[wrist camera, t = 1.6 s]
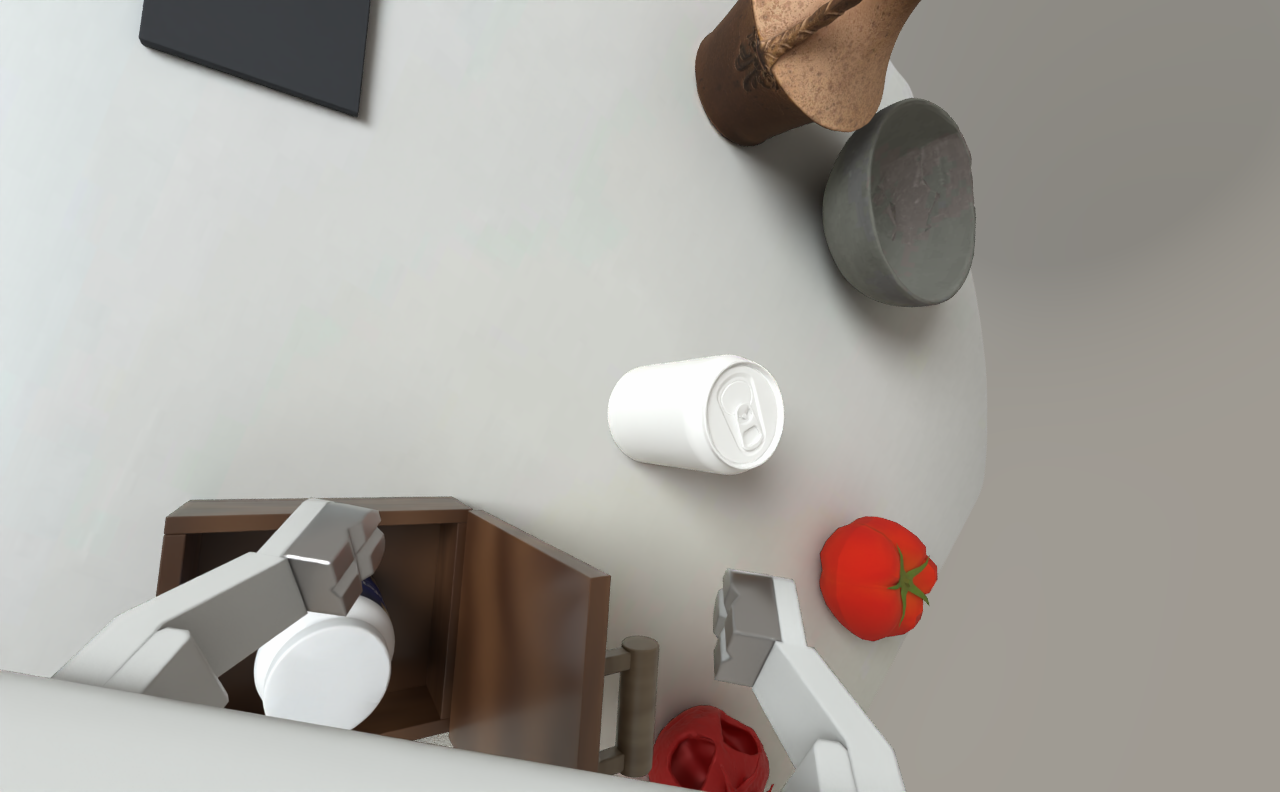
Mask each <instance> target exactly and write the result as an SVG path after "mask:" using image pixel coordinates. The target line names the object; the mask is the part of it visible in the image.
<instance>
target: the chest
mask: <svg viewBox="0 0 1280 792" xmlns="http://www.w3.org/2000/svg"><path fill="white" fill-rule="evenodd" d="M308 499H309V498H302V499H224V500H190V501H188V502H186V503H185V504H184V505H182V506H181V507H180V508H178V509H177V510H175V511H174V512H173V513H171V514H170V515H169V516H167V517H166V521H165V528H164V534H165V535H164V537H163V545H162V553H161V561H160V568H159V576H158V584H157V592H156V597H157V596H159V595H161V594H163V593H165V592H167V591H169V590H171V589H174V588H176V587H178V586H180V585H182V584H184V583H186V582H188V581H190V580H192V579H194V578H196V577H198V576H201V575H203V574H205V573H207V572H209V571H211V570H213V569H215V568H217V567H219V566H221V565H223V564H226V563H228V562H230V561H232V560H234V559H236V558H238V557H240V556H242V555H244V554H246V553H248V552H255V553H257V552H258V551H259V549H260V548H261V547H262V546H263V545H264V544H265V543H266V542H267V541H268V540H269V539H270V537H271V536H272V535H273V534H274V533H275V532H276V531H277V530H278V529H279V528H280V527H281V525H282V524H283V523H284V522H285V521H286V520H287V519H288V518H289V517H290V516H291V515H292V513H293V512H294V511H295V510H296V509H297V508H298V507H299V506H300V505H301V504H302V503H303V502H304V501H306V500H308ZM317 499H322V500H328V501H333V502H338V503H344V504H349V505H354V506H359V507H364V508H369V509H374V510H378V511H379V515H380V518H381V521H380V523H379V524H378V526H377V528H378V529H379V530H380V531H381V532H382V533H383V534H384V537H385V551H384V554H383V556H382V559H381V562H380V564H379V566H378V567H377V569H376V571H375V572H374V574H373V575H371V576H372V578H373V579H374V580H375V582H376V584H377V586H378V588H379V590H380V593H381V596H382V598H383V601H384V604H385V606H386V609H387V611H388V614H389V616H390V619H391V622H392V625H393V629H394V636H395V647H394V653H393V657H392V661H391V676H390V680H389V684H388V687H387V690H386V692H385V694H384V696H383V698H382V699H381V701H380V703H379V704H378V706H377V707H376V708H375V709H374V711H373V712H372V713H371V714H370V715H369V716H368V717H367V718H366V719H365V720H364V721H363V722H361V723H360V724H359V725H357V726H356V727H355V728H353V729H351V730H353V731H359V732H365V733H371V734H376V735H382V736H388V737H394V738H400V739H405V740H411V741H413V740H417V739H421V738H425V737H429V736H433V735H437V734H441V733H445V732H449V725H450V714H451V702H452V691H453V679H454V668H455V656H456V645H457V633H458V621H459V610H460V598H461V587H462V575H463V564H464V552H465V541H466V529H467V517H468V511H470V510H473V509H472V508H470V507H468V506H467V505H465V504H463V503H462V502H460V501H458V500H457V499H455V498H453V497H380V498H317ZM256 653H257V650H256V651H254V652H253V653H252V654H250V655H249V656H247V657H246V658H245V659H243V660H242V661H240V662H239V663H238V664H236V665H235V666H233V667H232V668H231V669H229V670H228V671H226V672H225V673H223V674H222V675H221V676H219V677H218V679H219V681H220V682H221V684H222V686H223V687H224V689H225V690H226V692H227V694H228V700H229V701H228V703H227V704H226V706H225V707H224V708H226V709H232V710H237V711H243V712H249V713H255V714H261V715H265V712H264V707H263V701H262V699H261V697H260V696H259V694H258V692H257V689H256V685H255V681H254V663H255V658H256Z"/></svg>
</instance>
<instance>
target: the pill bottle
mask: <svg viewBox="0 0 1280 792" xmlns="http://www.w3.org/2000/svg"><path fill="white" fill-rule="evenodd" d="M361 583H362V590H363V591H362V593H361V594H360V596H359V597H358V599H357V600H356V602H355V603H354V605H353V607H352V608H351V610H350V611H349V613H348V614H347V616H346V617H344V616H337V615H330V614H323V613H316V612H309V611H307V612H308V614H307V615H305V616H304V617H302V618H301V619H299V620H298V621H297V622H295V623H294V624H292V625H291V626H290V627H288V628H287V629H285V630H284V631H283V632H281V633H280V634H278V635H277V636H276V637H274V638H273V639H271V640H270V641H269V642H267V643H266V644H264V645H263V646H261V647H260V648H259V649H257V653H256V658H255V663H254V681H255V685H256V689H257V692H258V694H259V696H260V697H261V699H262V701H263V707H264V712H265V715H266V716H272V717H278V718H284V719H290V720H295V721H301V722H307V723H313V724H319V725H324V726H330V727H336V728H342V729H347V730H351V729H353V728H355V727H356V726H357V725H359V724H360V723H361V722H363V721H364V720H365V719H366V718H367V717H368V716H369V715H370V714H371V713H372V712H373V711H374V709H375V708H376V707H377V706H378V704H379V703H380V701H381V699H382V698H383V696H384V694H385V692H386V690H387V687H388V684H389V680H390V676H391V661H392V657H393V653H394V647H395V636H394V629H393V625H392V622H391V619H390V616H389V614H388V611H387V609H386V606H385V604H384V601H383V598H382V596H381V593H380V590H379V588H378V586H377V584H376V582H375V580H374V579H373V578H372V576H369V577H368V578H366V579H364V580H363V581H361Z"/></svg>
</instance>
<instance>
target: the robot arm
mask: <svg viewBox="0 0 1280 792" xmlns="http://www.w3.org/2000/svg"><path fill="white" fill-rule="evenodd" d="M380 521H381V518H380V515H379V511H378V510H374V509H369V508H364V507H359V506H354V505H349V504H344V503H338V502H333V501H328V500H322V499H317V498H309V499H308V500H306V501H304V502H303V503H302V504H301V505H300V506H299V507H298V508H297V509H296V510H295V511H294V512H293V513H292V515H291V516H290V517H289V518H288V519H287V520H286V521H285V522H284V523H283V524H282V525H281V527H280V528H279V529H278V530H277V531H276V532H275V533H274V534H273V535H272V536H271V537H270V539H269V540H268V541H267V542H266V543H265V544H264V545H263V546H262V547H261V548H260V549H259V551H258V552H257V553H255V552H248V553H246V554H244V555H242V556H240V557H238V558H236V559H234V560H232V561H230V562H228V563H226V564H223V565H221V566H219V567H217V568H215V569H213V570H211V571H209V572H207V573H205V574H203V575H201V576H198V577H196V578H194V579H192V580H190V581H188V582H186V583H184V584H182V585H180V586H178V587H176V588H174V589H171V590H169V591H167V592H165V593H163V594H161V595H159V596H157V597H155V598H153V599H151V600H149V601H147V602H144V603H142V604H140V605H138V606H136V607H134V608H132V609H130V610H128V611H126V612H124V613H122V614H119V615H117V616H116V617H115V618H114V619H113V620H112V621H111V622H110V623H109V624H108V625H107V626H105V627H104V628H103V629H102V630H101V631H100V632H99V633H98V634H97V635H96V636H95V637H94V638H93V639H92V640H91V641H90V642H88V643H87V644H86V645H85V646H84V647H83V648H82V649H81V650H80V651H79V652H78V653H77V654H76V655H75V656H74V657H72V658H71V659H70V660H69V661H68V662H67V663H66V664H65V665H64V666H63V667H62V668H61V669H60V670H59V671H58V672H56V673H55V674H54V675H53V676H52V677H51V678H46V677H40V676H35V675H29V674H23V673H17V672H11V671H6V670H0V792H705V791H700V790H694V789H688V788H682V787H677V786H671V785H665V784H659V783H654V782H648V781H642V780H636V779H630V778H625V777H619V776H613V775H607V774H602V773H596V772H590V771H584V770H578V769H573V768H567V767H561V766H555V765H550V764H544V763H538V762H532V761H527V760H521V759H515V758H509V757H503V756H498V755H492V754H486V753H480V752H475V751H469V750H463V749H457V748H452V747H446V746H440V745H434V744H428V743H423V742H417V741H411V740H405V739H400V738H394V737H388V736H382V735H376V734H371V733H365V732H359V731H353V730H347V729H342V728H336V727H330V726H324V725H319V724H313V723H307V722H301V721H295V720H290V719H284V718H278V717H272V716H266V715H261V714H255V713H249V712H243V711H237V710H232V709H226V708H224V707H225V706H226V704H227V703H228V701H229V700H228V694H227V692H226V690H225V689H224V687H223V686H222V684H221V682H220V681H219V679H218V677H219V676H221V675H222V674H223V673H225V672H226V671H228V670H229V669H231V668H232V667H233V666H235V665H236V664H238V663H239V662H240V661H242V660H243V659H245V658H246V657H247V656H249V655H250V654H252V653H253V652H254V651H256V650H257V649H259V648H260V647H261V646H263V645H264V644H266V643H267V642H269V641H270V640H271V639H273V638H274V637H276V636H277V635H278V634H280V633H281V632H283V631H284V630H285V629H287V628H288V627H290V626H291V625H292V624H294V623H295V622H297V621H298V620H299V619H301V618H302V617H304V616H305V615H307V614H308V612H307V611H309V612H316V613H323V614H330V615H337V616H344V617H346V616H347V614H348V613H349V611H350V610H351V608H352V607H353V605H354V603H355V602H356V600H357V599H358V597H359V596H360V594H361V593H362V591H363V590H362V583H361V581H363V580H364V579H366V578H368V577H369V576H371V575H373V574H374V572H375V571H376V569H377V567H378V566H379V564H380V562H381V559H382V556H383V554H384V551H385V537H384V534H383V533H382V532H381V531H380V530H379V529H378V528H377V526H378V524H379V523H380ZM713 632H714V634H715V635H716V637H717V638H718V641H717V643H716V646H715V649H714V672H715V680H718V681H723V682H728V683H733V684H738V685H743V686H748V687H753V688H752V690H753V692H754V694H755V696H756V698H757V700H758V701H759V703H760V705H761V707H762V709H763V711H764V712H765V714H766V716H767V718H768V720H769V722H770V723H771V725H772V727H773V729H774V731H775V733H776V734H777V736H778V738H779V740H780V742H781V743H782V745H783V747H784V749H785V751H786V753H787V754H788V756H789V758H790V760H791V762H792V764H793V765H794V767H795V769H796V770H795V771H794V773H793V774H792V776H791V777H790V778H789V780H788V781H787V783H786V784H785V785H784V787H783V788H782V790H781V791H780V792H906V789H905V786H904V782H903V779H902V775H901V772H900V768H899V765H898V761H897V758H896V754H895V751H894V749H893V748H892V747H891V745H890V744H889V743H888V741H887V740H886V739H885V738H884V736H883V735H882V734H881V732H880V731H879V730H878V729H877V727H876V726H875V725H874V724H873V722H872V721H871V720H870V718H869V717H868V716H867V715H866V713H865V712H864V711H863V710H862V708H861V707H860V706H859V704H858V703H857V702H856V701H855V699H854V698H853V697H852V696H851V694H850V693H849V692H848V690H847V689H846V688H845V687H844V685H843V684H842V683H841V682H840V680H839V679H838V678H837V676H836V675H835V674H834V673H833V671H832V670H831V669H830V668H829V666H828V665H827V664H826V662H825V661H824V660H823V659H822V657H821V656H820V655H819V654H818V652H817V651H816V650H815V648H813V647H808V646H807V642H806V636H805V631H804V626H803V621H802V616H801V610H800V605H799V600H798V595H797V590H796V585H795V582H794V581H793V579H788V578H782V577H776V576H770V575H767V574H760V573H754V572H748V571H741V570H735V569H727V570H726V571H725V574H724V576H723V588H722V589H720V590H719V591H718V594H717V597H716V601H715V607H714V615H713Z"/></svg>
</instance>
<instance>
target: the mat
mask: <svg viewBox="0 0 1280 792" xmlns="http://www.w3.org/2000/svg"><path fill="white" fill-rule="evenodd" d="M369 10H370V0H144V4H143V11H142V18H141V25H140V32H139V39H140V41H141V43H142V44H143V45H145V46H148V47H151V48H154V49H157V50H160V51H163V52H166V53H169V54H172V55H175V56H178V57H181V58H184V59H187V60H190V61H193V62H196V63H198V64H201V65H204V66H207V67H210V68H213V69H216V70H219V71H222V72H225V73H228V74H231V75H234V76H237V77H240V78H243V79H246V80H249V81H252V82H255V83H258V84H261V85H264V86H267V87H269V88H272V89H275V90H278V91H281V92H284V93H287V94H290V95H293V96H296V97H299V98H302V99H305V100H308V101H311V102H314V103H317V104H320V105H323V106H326V107H329V108H332V109H335V110H338V111H341V112H343V113H346V114H349V115H352V116H355V117H358V112H359V103H360V93H361V84H362V75H363V65H364V56H365V47H366V38H367V28H368V19H369Z"/></svg>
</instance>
